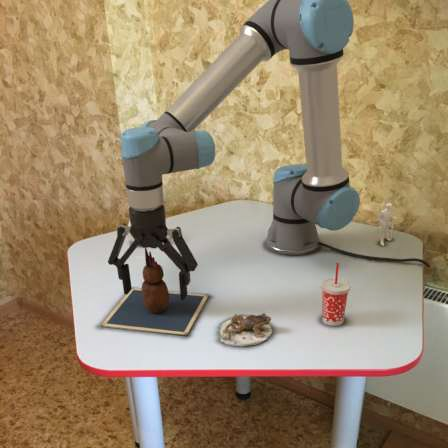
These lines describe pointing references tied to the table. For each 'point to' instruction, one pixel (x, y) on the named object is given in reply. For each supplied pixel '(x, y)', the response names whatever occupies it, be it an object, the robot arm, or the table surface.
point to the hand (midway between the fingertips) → (155, 294)
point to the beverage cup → (334, 299)
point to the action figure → (385, 223)
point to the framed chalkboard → (156, 314)
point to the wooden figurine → (154, 286)
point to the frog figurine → (245, 330)
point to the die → (130, 234)
